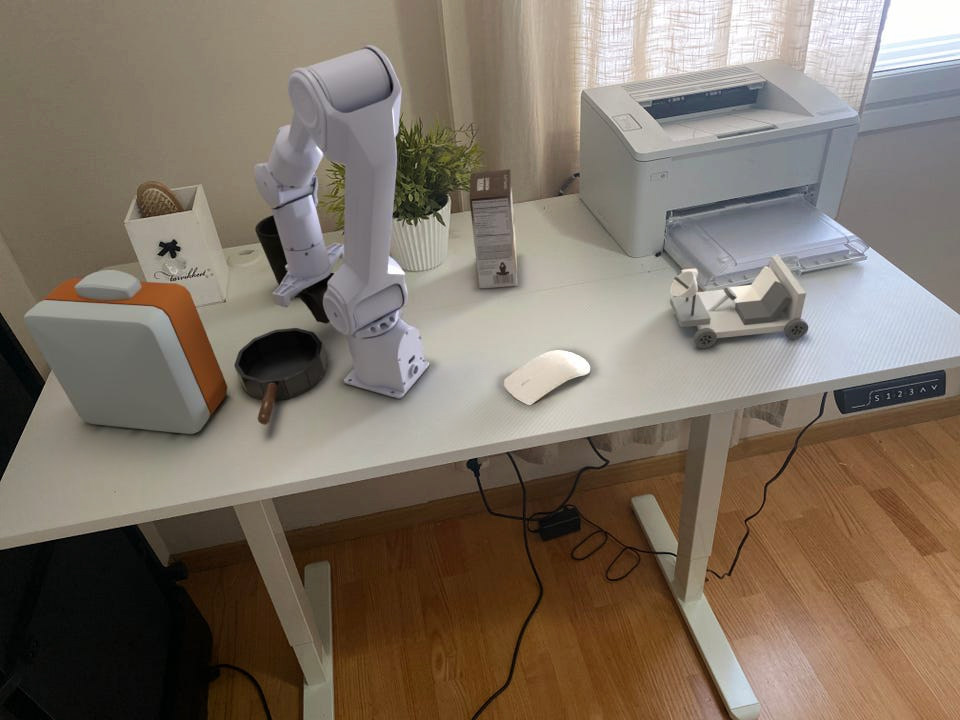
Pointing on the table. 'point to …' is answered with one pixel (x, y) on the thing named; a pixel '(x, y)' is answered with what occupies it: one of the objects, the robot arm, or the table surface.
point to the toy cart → (741, 305)
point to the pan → (280, 366)
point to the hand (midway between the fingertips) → (324, 320)
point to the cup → (272, 247)
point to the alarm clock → (129, 352)
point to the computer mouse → (544, 375)
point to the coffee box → (493, 228)
